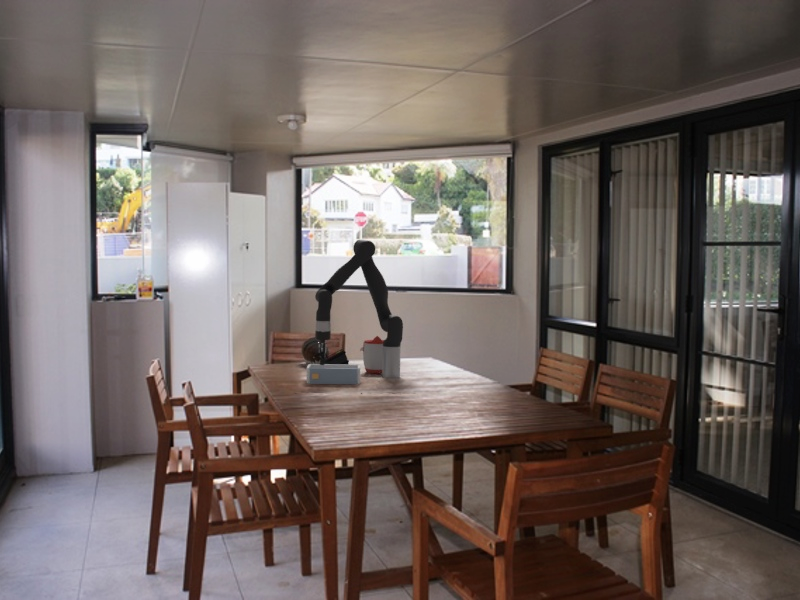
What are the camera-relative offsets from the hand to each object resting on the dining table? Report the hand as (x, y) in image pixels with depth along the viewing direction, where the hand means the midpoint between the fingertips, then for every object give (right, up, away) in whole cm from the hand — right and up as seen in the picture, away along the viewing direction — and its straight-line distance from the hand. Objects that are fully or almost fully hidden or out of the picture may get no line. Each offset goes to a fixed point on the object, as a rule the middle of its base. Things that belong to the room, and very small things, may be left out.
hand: (322, 364), depth 364 cm
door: (+6, -9, -6) cm, 12 cm away
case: (+6, -10, +1) cm, 11 cm away
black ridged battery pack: (+6, -9, +18) cm, 21 cm away
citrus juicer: (+25, -8, +38) cm, 46 cm away
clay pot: (-9, -6, +56) cm, 57 cm away
